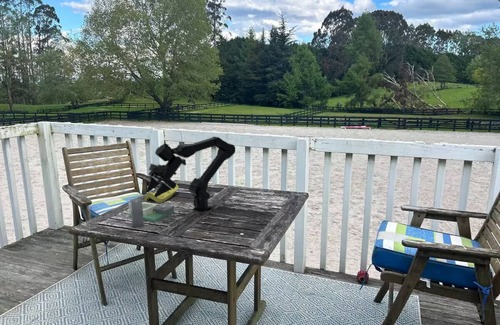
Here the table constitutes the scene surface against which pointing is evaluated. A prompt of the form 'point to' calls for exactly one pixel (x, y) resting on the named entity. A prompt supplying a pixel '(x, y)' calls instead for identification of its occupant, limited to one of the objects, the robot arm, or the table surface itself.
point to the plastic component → (161, 197)
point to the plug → (136, 212)
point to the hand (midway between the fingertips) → (150, 194)
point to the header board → (154, 216)
